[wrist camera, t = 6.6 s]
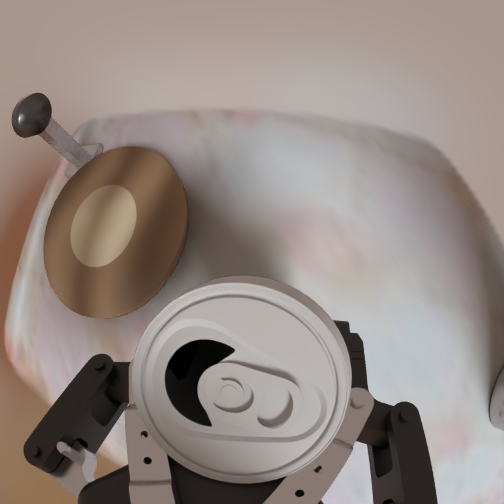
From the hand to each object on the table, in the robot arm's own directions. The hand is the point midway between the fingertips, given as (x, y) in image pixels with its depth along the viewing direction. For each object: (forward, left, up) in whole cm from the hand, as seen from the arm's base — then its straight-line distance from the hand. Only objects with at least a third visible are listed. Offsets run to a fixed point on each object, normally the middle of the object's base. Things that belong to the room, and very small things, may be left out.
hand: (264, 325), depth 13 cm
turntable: (+15, -6, -7) cm, 18 cm away
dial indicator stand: (+23, -14, -8) cm, 28 cm away
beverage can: (0, +2, -6) cm, 6 cm away
